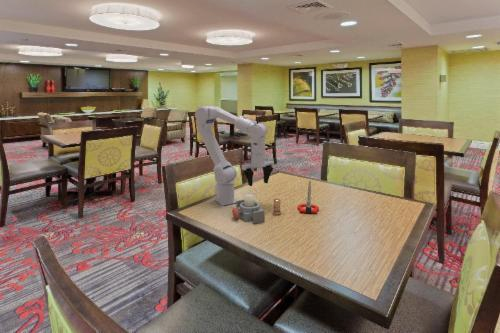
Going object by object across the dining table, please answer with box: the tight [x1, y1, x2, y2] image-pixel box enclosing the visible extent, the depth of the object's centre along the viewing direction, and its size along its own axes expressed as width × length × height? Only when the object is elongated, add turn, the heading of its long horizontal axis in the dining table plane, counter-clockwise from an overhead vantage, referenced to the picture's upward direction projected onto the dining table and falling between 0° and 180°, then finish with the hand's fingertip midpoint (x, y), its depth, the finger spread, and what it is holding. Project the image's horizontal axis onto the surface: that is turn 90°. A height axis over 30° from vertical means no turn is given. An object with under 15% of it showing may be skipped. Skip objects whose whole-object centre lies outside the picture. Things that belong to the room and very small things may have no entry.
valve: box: [231, 199, 266, 225], centre depth 129 cm, size 15×11×5 cm
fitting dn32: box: [272, 198, 282, 216], centre depth 133 cm, size 3×3×6 cm
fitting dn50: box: [243, 192, 256, 207], centre depth 129 cm, size 5×5×6 cm
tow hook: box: [296, 180, 320, 215], centre depth 136 cm, size 9×14×10 cm
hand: (258, 184), depth 138 cm, fingers open, 7 cm apart
